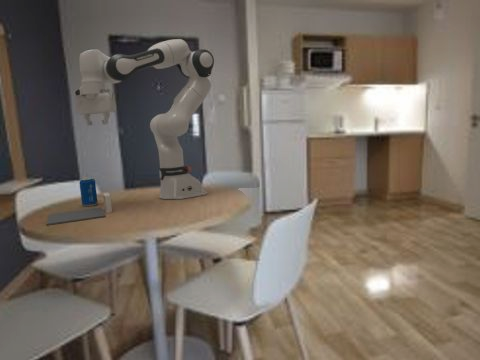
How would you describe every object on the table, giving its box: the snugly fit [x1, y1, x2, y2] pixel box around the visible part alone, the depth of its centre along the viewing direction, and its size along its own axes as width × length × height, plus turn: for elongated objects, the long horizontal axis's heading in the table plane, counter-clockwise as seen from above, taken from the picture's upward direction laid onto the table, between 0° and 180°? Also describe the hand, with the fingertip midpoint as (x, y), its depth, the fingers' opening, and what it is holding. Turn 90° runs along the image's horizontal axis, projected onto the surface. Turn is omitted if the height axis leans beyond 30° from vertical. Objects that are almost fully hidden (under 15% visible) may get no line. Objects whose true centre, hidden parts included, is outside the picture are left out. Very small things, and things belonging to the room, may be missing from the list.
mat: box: [46, 206, 107, 226], centre depth 141 cm, size 20×18×1 cm
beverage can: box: [78, 177, 98, 207], centre depth 161 cm, size 6×6×12 cm
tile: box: [102, 192, 113, 214], centre depth 148 cm, size 2×8×7 cm, turn 25°
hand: (97, 124), depth 150 cm, fingers open, 8 cm apart
